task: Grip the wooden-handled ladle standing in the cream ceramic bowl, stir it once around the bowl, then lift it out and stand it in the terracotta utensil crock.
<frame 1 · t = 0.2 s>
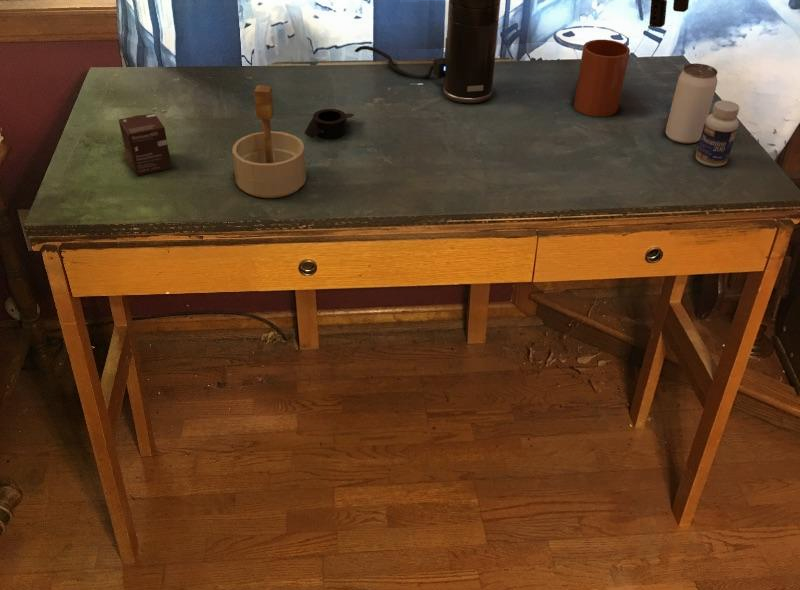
hand: (668, 18, 134), 22 cm above the table, tool pointing down, fingers open, 8 cm apart
crock: (595, 106, 162), on the table
can: (682, 137, 154), on the table
pill bottle: (710, 161, 148), on the table
box: (149, 165, 143), on the table
bowl: (271, 181, 139), on the table
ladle: (271, 178, 139), point 1 cm above the table, touching bowl
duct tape: (330, 132, 152), on the table
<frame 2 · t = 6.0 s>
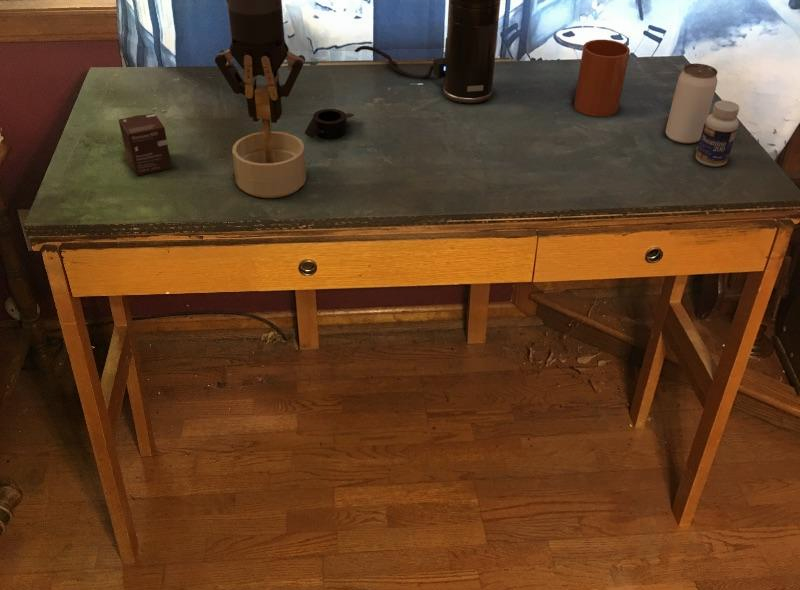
hand: (265, 119, 132), 11 cm above the table, tool pointing down, fingers closed on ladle, 2 cm apart
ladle: (271, 178, 139), point 1 cm above the table, touching bowl, gripper
everything else where it was.
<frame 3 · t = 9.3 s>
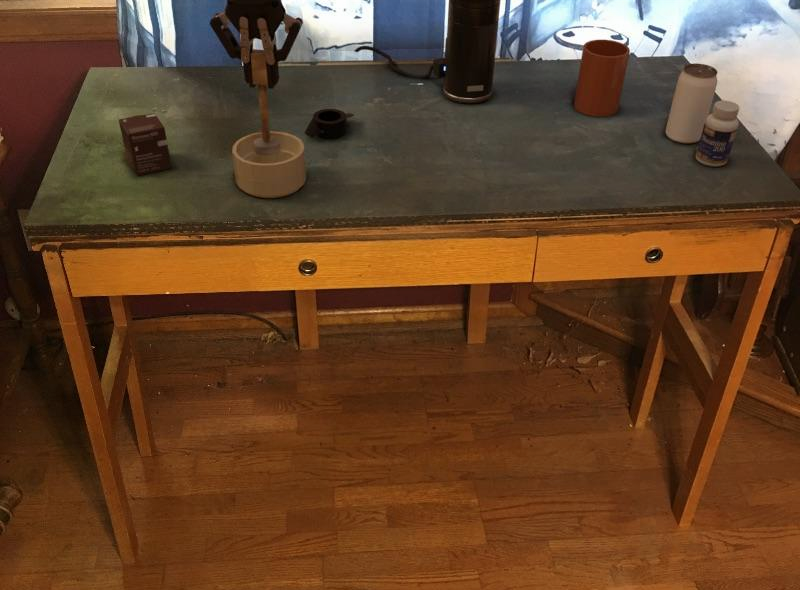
hand: (262, 85, 128), 16 cm above the table, tool pointing down, fingers closed on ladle
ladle: (267, 150, 134), point 6 cm above the table, touching gripper
everything else where it was.
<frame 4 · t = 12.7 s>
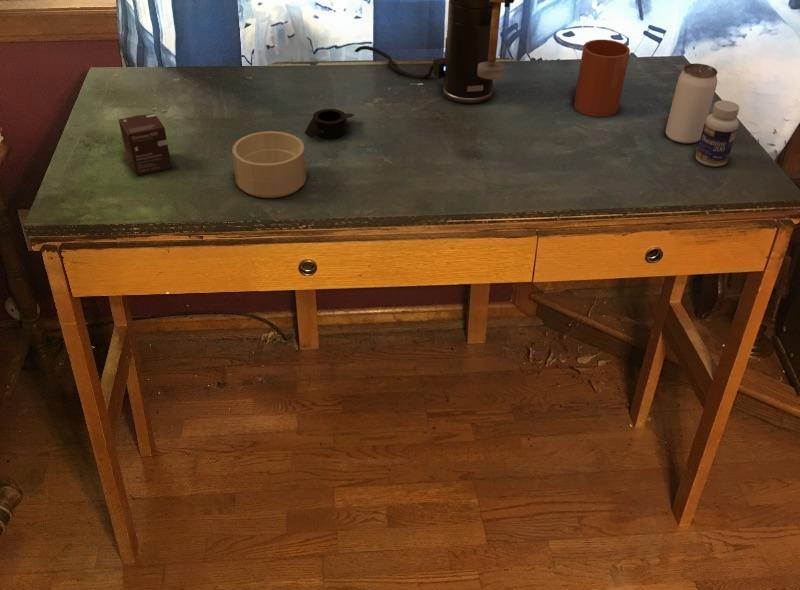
hand: (496, 4, 124), 27 cm above the table, tool pointing down, fingers closed on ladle
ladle: (490, 75, 130), point 17 cm above the table, touching gripper
everything else where it was.
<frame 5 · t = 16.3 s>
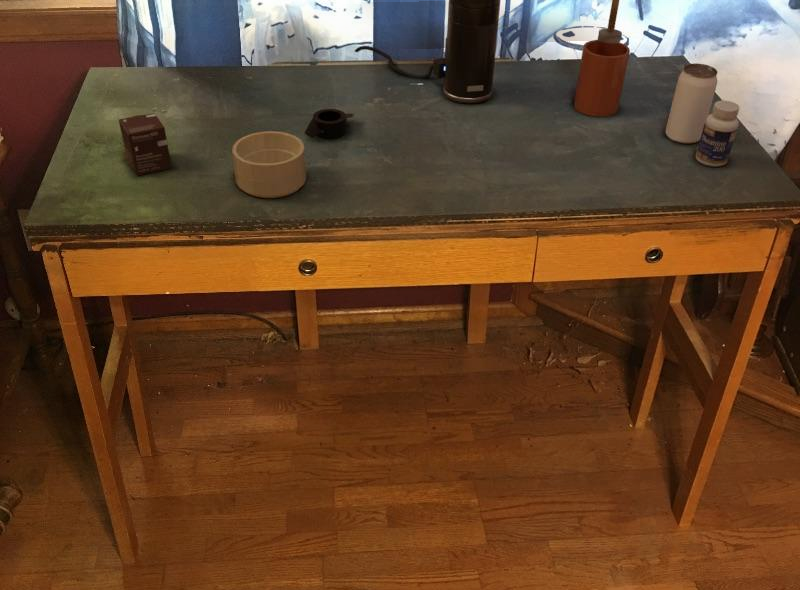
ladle: (609, 40, 152), point 13 cm above the table, touching gripper
everything else where it was.
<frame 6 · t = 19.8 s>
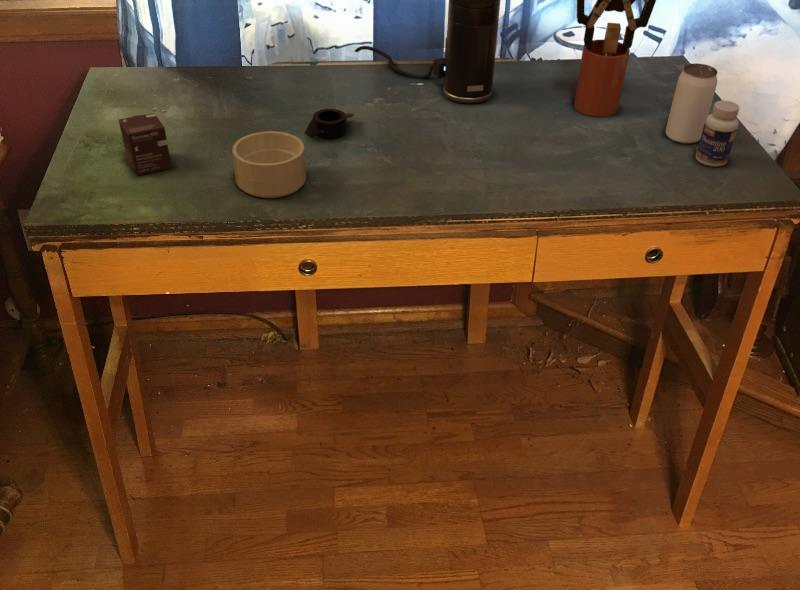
hand: (606, 48, 154), 11 cm above the table, tool pointing down, fingers closed on crock, 5 cm apart
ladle: (597, 106, 160), point 1 cm above the table, touching crock
everything else where it was.
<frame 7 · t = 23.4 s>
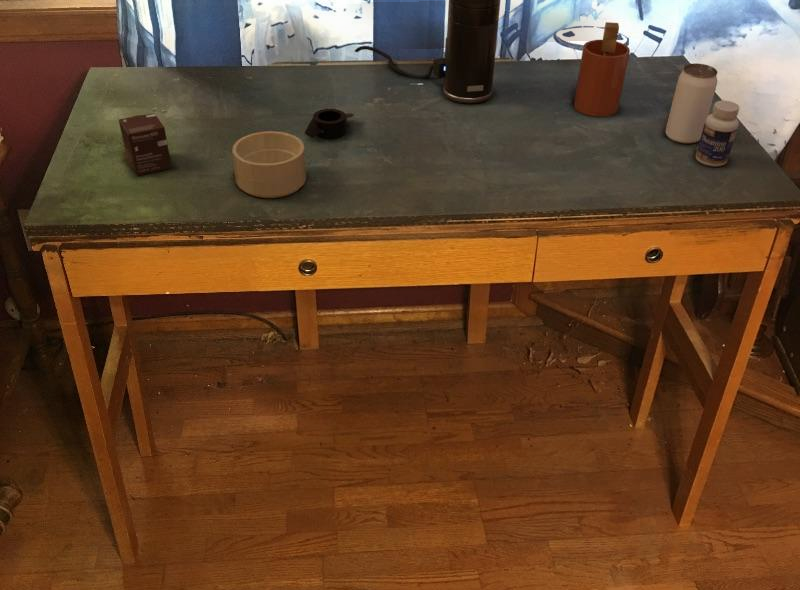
nothing on the table moved.
at the end: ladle 1.3 cm off-centre in the crock, point 0.6 cm above the crock's base; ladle tilted 0°; the gripper is holding nothing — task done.
